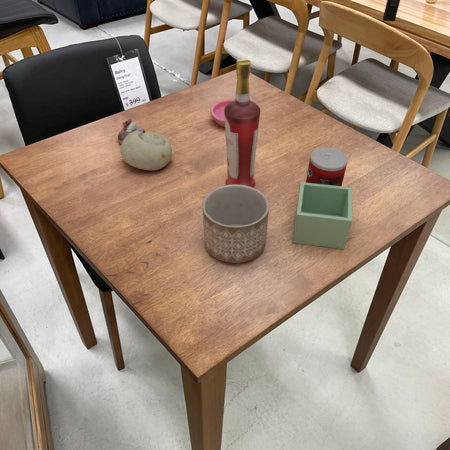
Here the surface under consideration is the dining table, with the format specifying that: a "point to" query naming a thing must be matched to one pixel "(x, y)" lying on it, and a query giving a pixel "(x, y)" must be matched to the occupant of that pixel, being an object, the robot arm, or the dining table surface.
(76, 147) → the dining table surface
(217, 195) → the planter
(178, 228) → the dining table surface
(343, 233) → the box
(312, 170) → the canned food
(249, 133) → the liquor
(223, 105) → the saucer
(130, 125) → the pinkish grey lump
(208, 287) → the dining table surface
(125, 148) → the seashell
